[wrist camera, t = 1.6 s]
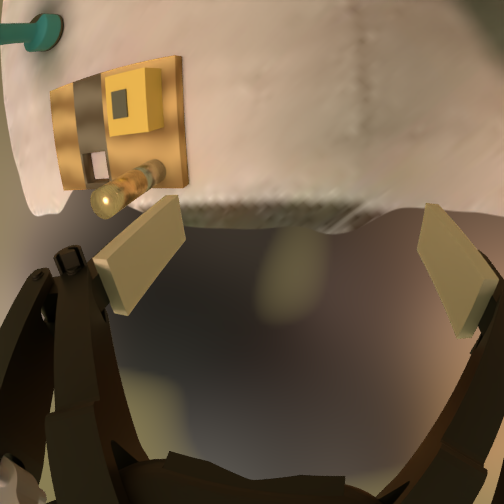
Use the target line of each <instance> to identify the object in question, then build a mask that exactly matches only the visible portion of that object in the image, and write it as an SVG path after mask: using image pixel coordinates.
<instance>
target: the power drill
mask: <svg viewBox="0 0 504 504" xmlns="http://www.w3.org/2000/svg"><path fill="white" fill-rule="evenodd" d="M62 30H63V20H62V18H61V16H60V15H57V14H39V15H37V16H36V17H34V18H33V19H32V21H31V22H30V23H10V24H2V23H0V45H3V44H12V43H24V46H25V49H26V50H27V51H28V52H36V51H47V50H49V49H51V48H52V47H53V46H54V45H55V44H56V43H57V42H58V40H59V39H60V37H61V34H62Z"/></svg>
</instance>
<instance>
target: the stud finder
mask: <svg viewBox="0 0 504 504" xmlns="http://www.w3.org/2000/svg"><path fill="white" fill-rule="evenodd" d="M105 88H106V103H107V115H108V126H109V135H110V137H112V136H119V135H126V134H134V133H143V132H150V131H153V130H156V129H160V128H163V127H164V117H163V101H162V80H161V69H160V68H145V67H144V68H140V69H136V70H131V71H127V72H123V73H119V74H116V75H112V76H108V77H105Z"/></svg>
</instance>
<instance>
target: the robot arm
mask: <svg viewBox="0 0 504 504" xmlns="http://www.w3.org/2000/svg"><path fill="white" fill-rule="evenodd" d="M185 240H186V238H185V232H184V227H183V221H182V216H181V210H180V204H179V198H178V195H166V196H164V197H163V198H162V199H161V200H159V201H158V202H157V203H156V204H154V205H153V206H152V207H151V208H150V209H148V210H147V211H146V212H145V213H143V214H142V215H141V216H140V217H139V218H138V219H136V220H135V221H134V222H133V223H132V224H130V225H129V226H128V227H127V228H126V229H125V230H123V231H122V232H121V233H120V234H119V235H118V236H117V237H115V238H114V239H112V240H111V241H110V242H109V243H108V244H107V245H106V246H105V247H103V248H102V249H101V251H99V252H98V253H97V254H96V255H95V256H94V257H92V258H91V259H90V260H89V261H88V262H87V263H86V260H85V257H84V254H83V252H82V249H81V246H79V245H72V246H68V247H66V248H64V249H62V250H60V251H59V252H58V253H57V254H56V255H55V256H54V261H55V263H56V265H57V268H58V271H59V273H60V276H58V277H52V274H51V273H50V270H49V268H41V269H37V270H35V271H34V272H33V273H32V274H31V275H30V276H29V277H28V278H27V280H26V281H25V283H24V285H23V286H22V288H21V290H20V292H19V294H18V295H17V297H16V299H15V300H14V302H13V304H12V306H11V308H10V310H9V312H8V314H7V316H6V318H5V320H4V322H3V324H2V326H1V328H0V504H45V503H46V500H47V499H46V494H45V492H44V491H43V490H42V489H40V488H39V486H38V485H39V482H40V479H41V474H42V469H43V463H44V455H45V445H46V443H47V450H48V459H49V465H50V471H51V477H52V482H53V487H54V491H55V496H56V500H54V501H51V502H49V503H46V504H473V502H474V500H475V498H476V497H477V495H478V493H479V491H480V490H481V488H482V486H483V484H484V482H485V479H486V477H487V469H485V468H484V462H485V460H486V458H487V455H488V454H489V451H490V449H491V447H492V445H493V442H494V440H495V438H496V435H497V433H498V430H499V428H500V425H501V423H502V420H503V417H504V279H503V278H502V277H501V275H500V274H499V272H498V271H497V270H496V268H495V267H494V265H493V264H491V261H490V260H489V259H488V257H487V256H486V255H484V254H483V253H482V252H481V251H479V250H477V249H476V248H475V246H474V245H473V244H472V243H471V241H470V240H469V239H468V238H467V236H466V235H465V234H464V233H463V232H462V231H461V229H460V228H459V227H458V226H457V225H456V224H455V222H454V221H453V220H452V219H451V218H450V217H449V215H448V214H447V213H446V212H445V211H444V210H443V209H442V208H441V207H440V206H439V205H438V204H430V203H426V206H425V212H424V217H423V223H422V228H421V232H420V237H419V242H418V246H417V252H418V253H419V255H420V257H421V259H422V261H423V263H424V265H425V267H426V269H427V271H428V273H429V275H430V277H431V279H432V282H433V283H434V286H435V288H436V290H437V292H438V294H439V296H440V299H441V301H442V303H443V306H444V308H445V310H446V313H447V315H448V318H449V320H450V323H451V325H452V328H453V330H454V333H455V335H456V338H457V339H461V338H472V336H473V334H474V332H475V331H476V329H477V327H479V329H480V331H481V334H480V336H479V338H478V340H477V342H476V344H475V345H474V347H473V348H472V350H471V352H470V354H471V356H470V359H469V361H468V363H467V365H466V367H465V369H464V371H463V373H462V375H461V377H460V380H459V381H458V384H457V386H456V387H455V389H454V391H453V393H452V395H451V397H450V398H449V400H448V402H447V404H446V406H445V407H444V409H443V411H442V412H441V414H440V416H439V417H438V419H437V421H436V422H435V424H434V425H433V427H432V428H431V430H430V432H429V433H428V435H427V436H426V438H425V439H424V441H423V442H422V443H421V445H420V446H419V448H418V449H417V451H416V452H415V453H414V455H413V456H412V458H411V459H410V460H409V461H408V463H407V464H406V465H405V467H404V468H403V469H402V470H401V471H400V473H399V474H398V475H397V476H396V477H395V478H394V479H393V480H392V481H391V482H390V483H389V484H388V485H387V486H386V487H385V488H384V489H383V490H382V491H381V492H380V493H379V494H378V495H377V496H376V497H374V496H372V495H371V494H369V493H368V492H366V491H364V490H361V489H359V488H356V487H353V486H350V485H346V484H345V476H310V475H297V476H291V477H283V478H274V479H264V480H250V479H247V478H244V477H242V476H240V475H237V474H235V473H233V472H230V471H228V470H226V469H224V468H221V467H219V466H217V465H215V464H213V463H211V462H209V461H205V460H201V459H197V458H192V457H189V456H185V455H182V454H178V453H175V452H171V451H169V453H168V456H167V458H166V459H153V460H149V458H148V456H147V455H146V453H145V452H144V450H143V448H142V446H141V444H140V442H139V439H138V437H137V434H136V430H135V427H134V424H133V421H132V418H131V414H130V411H129V408H128V404H127V401H126V397H125V394H124V389H123V386H122V382H121V378H120V373H119V369H118V365H117V360H116V356H115V351H114V346H113V341H112V335H111V330H110V324H109V318H108V313H107V311H106V309H105V307H106V306H107V305H108V304H109V302H110V304H111V307H112V309H113V311H114V313H116V314H121V315H127V316H128V315H129V314H130V312H131V311H132V310H133V308H134V307H135V305H136V304H137V303H138V301H139V300H140V299H141V297H142V296H143V295H144V293H145V292H146V291H147V289H148V288H149V287H150V285H151V284H152V283H153V281H154V280H155V279H156V277H157V276H158V275H159V273H160V272H161V271H162V269H163V268H164V267H165V265H166V264H167V263H168V262H169V260H170V259H171V258H172V256H173V255H174V254H175V253H176V251H177V250H178V249H179V248H180V246H181V245H182V244H183V243H184V241H185ZM41 312H42V314H43V316H44V317H45V319H44V321H43V319H42V315H41ZM53 391H54V394H55V412H52V413H50V407H51V402H52V396H53ZM491 504H504V460H503V464H502V468H501V472H500V476H499V480H498V483H497V487H496V490H495V494H494V496H493V500H492V503H491Z"/></svg>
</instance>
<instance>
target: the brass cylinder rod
mask: <svg viewBox="0 0 504 504" xmlns="http://www.w3.org/2000/svg"><path fill="white" fill-rule="evenodd" d="M165 176H166V168H165V165H164V164H163V163H162V162H161V161H160V160H157V159H152V160H149V161H147V162H145V163H144V164H142V165H140V166H138V167H136V168H134V169H132V170H130V171H128V172H126V173H124V174H123V175H121V176H119V177H117V178H115V179H114V180H112V181H110V182H108V183H107V184H105V185H103V186H101V187H100V188H98V189H96V190H95V191H93V193H92V195H91V198H90V201H91V206H92V209H93V211H94V212H95V214H96V215H97V216H99V217H100V218H102V219H109V218H111V217H112V216H113V215H115V214H116V213H117V212H118V211H120V210H121V209H122V208H124V207H125V206H127V205H128V204H130V203H131V202H132V201H134V200H135V199H137V198H138V197H139V196H141V195H142V194H144V193H145V192H147V191H148V190H149V189H151V188H152V187H154V186H155V185H157V184H158V183H160V182H161V181H163V180H164V178H165Z"/></svg>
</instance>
